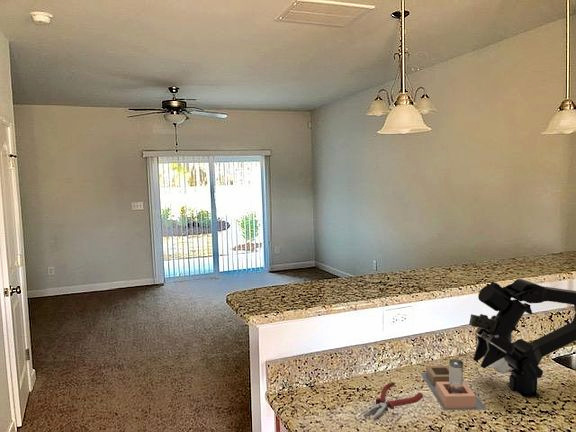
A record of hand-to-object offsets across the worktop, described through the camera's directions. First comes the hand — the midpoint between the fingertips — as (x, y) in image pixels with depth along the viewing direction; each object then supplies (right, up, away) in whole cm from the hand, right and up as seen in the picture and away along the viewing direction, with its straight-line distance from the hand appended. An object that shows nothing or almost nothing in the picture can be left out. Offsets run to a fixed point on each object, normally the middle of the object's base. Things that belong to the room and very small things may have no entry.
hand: (478, 363), depth 128 cm
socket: (-8, -10, -3) cm, 13 cm away
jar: (+15, -8, +20) cm, 26 cm away
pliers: (-27, -12, -1) cm, 29 cm away
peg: (-8, -10, -3) cm, 12 cm away
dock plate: (-7, -10, +3) cm, 12 cm away
